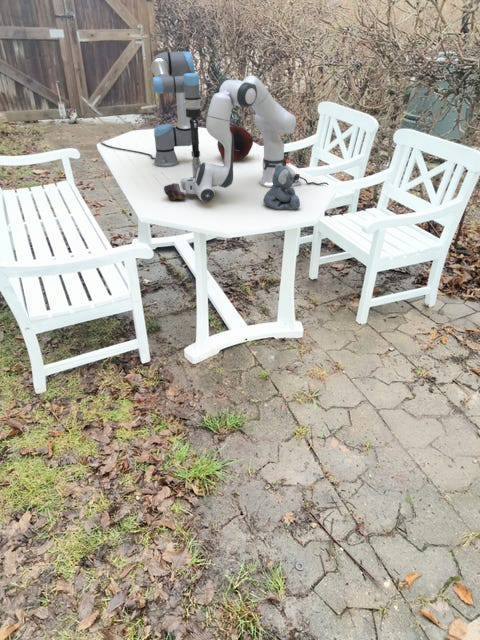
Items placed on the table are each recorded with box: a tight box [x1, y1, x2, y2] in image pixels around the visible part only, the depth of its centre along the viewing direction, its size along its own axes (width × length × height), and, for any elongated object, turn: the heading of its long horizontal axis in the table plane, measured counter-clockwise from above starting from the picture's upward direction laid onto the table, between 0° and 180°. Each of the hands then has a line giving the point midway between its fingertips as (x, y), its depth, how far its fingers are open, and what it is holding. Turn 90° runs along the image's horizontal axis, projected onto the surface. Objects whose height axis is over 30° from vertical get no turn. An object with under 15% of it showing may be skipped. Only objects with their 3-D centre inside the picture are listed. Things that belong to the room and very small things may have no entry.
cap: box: [190, 150, 201, 158], centre depth 239 cm, size 4×5×2 cm
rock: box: [163, 182, 187, 201], centre depth 236 cm, size 12×9×10 cm
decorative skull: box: [217, 125, 254, 164], centre depth 298 cm, size 21×24×25 cm
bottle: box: [191, 156, 202, 178], centre depth 244 cm, size 5×5×20 cm
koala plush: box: [262, 164, 301, 211], centre depth 224 cm, size 17×18×20 cm
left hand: (195, 155), depth 239 cm, fingers open, 6 cm apart
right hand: (196, 178), depth 247 cm, fingers closed on bottle, 5 cm apart
